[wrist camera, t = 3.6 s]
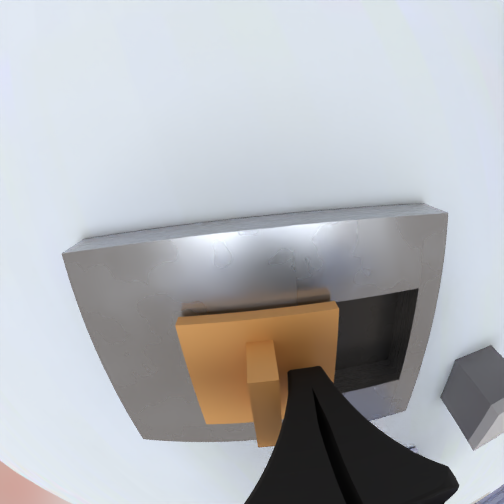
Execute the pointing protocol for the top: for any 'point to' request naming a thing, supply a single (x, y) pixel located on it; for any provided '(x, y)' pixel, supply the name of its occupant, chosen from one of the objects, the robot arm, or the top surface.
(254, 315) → the shutter
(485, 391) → the plug
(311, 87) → the top surface
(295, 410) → the robot arm
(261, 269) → the socket plate
